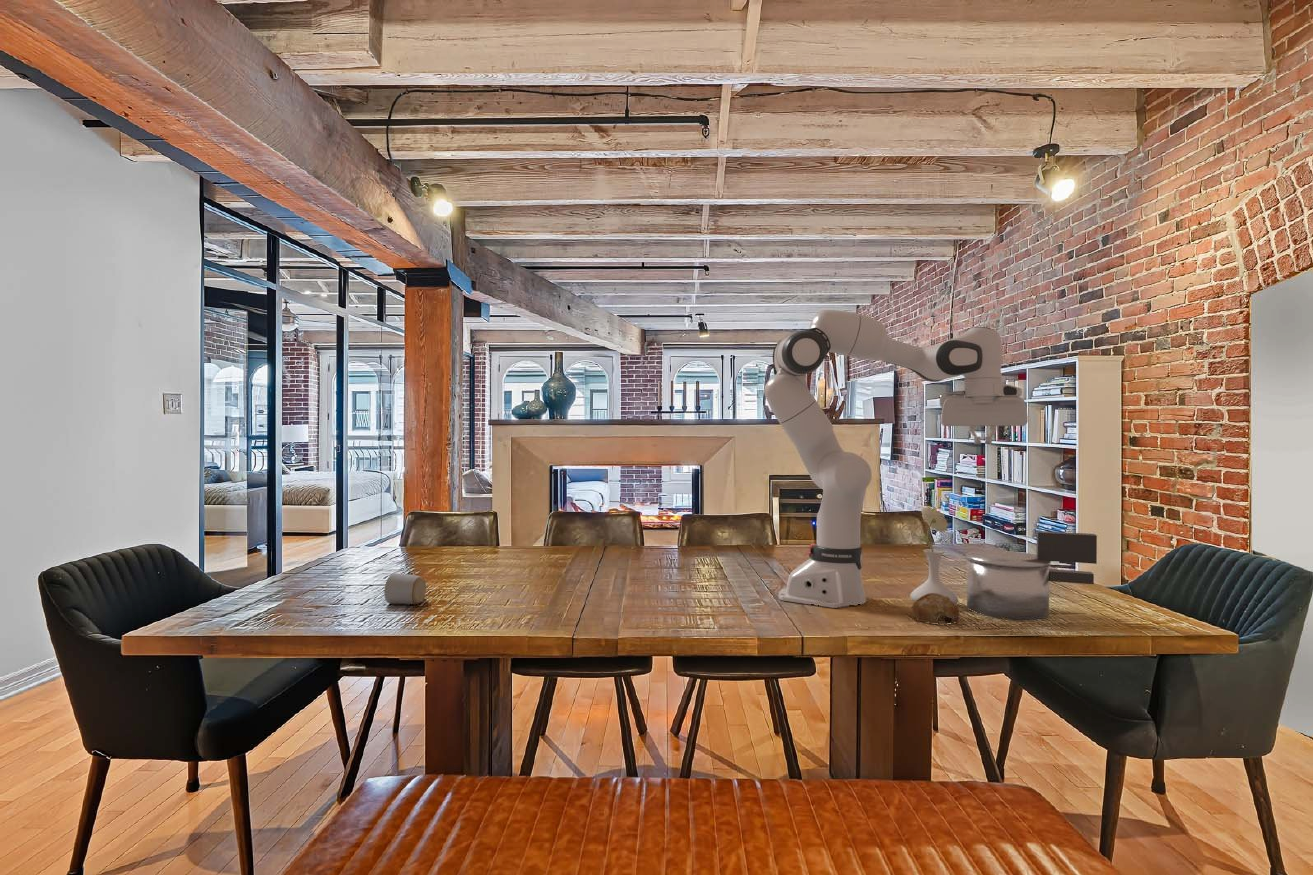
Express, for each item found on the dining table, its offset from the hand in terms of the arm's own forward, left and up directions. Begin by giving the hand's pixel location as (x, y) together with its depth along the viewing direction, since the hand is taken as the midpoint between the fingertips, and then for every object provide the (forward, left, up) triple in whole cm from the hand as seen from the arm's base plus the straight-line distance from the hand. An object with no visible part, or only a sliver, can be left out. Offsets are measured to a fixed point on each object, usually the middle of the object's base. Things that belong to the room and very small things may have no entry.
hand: (982, 443), depth 174 cm
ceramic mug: (-138, -57, -41) cm, 154 cm away
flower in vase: (-12, -7, -41) cm, 44 cm away
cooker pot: (+9, -7, -41) cm, 43 cm away
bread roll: (-12, -22, -42) cm, 49 cm away
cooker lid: (+10, -7, -29) cm, 31 cm away
